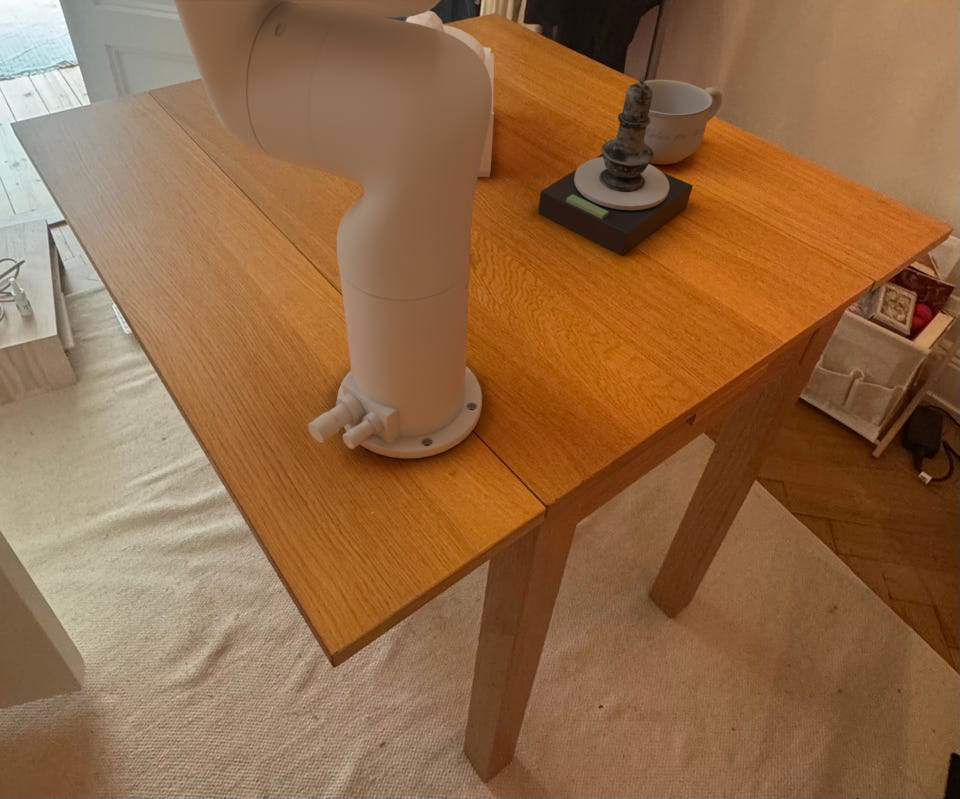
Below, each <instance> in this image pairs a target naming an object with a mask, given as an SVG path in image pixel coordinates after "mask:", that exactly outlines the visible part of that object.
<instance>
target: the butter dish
mask: <svg viewBox="0 0 960 799" xmlns="http://www.w3.org/2000/svg"><path fill="white" fill-rule="evenodd" d="M405 22H410V23H415V24H420V25H423V26H427V27H430V28H434V29H437V30H439V31H442V32H444V33H447V34H449V35H451V36H453V37H455V38H457V39H459V40H461V41H462V42H464V43H465V44H466V45H468V46H469V47H470V48H471V49H473V51H474V52H475V53H476V54H477V55H478V56H479V57H480V59H481V60H482V61H483V63H484V65H485V67H486V69H487V71H488V74H489V77H490V81H491V87H492V107H491V116H490V122H489V127H488V132H487V136H486V141H485V145H484V150H483V154H482V159H481V163H480V168H479V173H478V178H490V176H491V170H492V156H493V154H492V153H493V137H494V120H495V118H494V117H495V111H494V80H495V78H494V77H495V76H494V74H495V67H494V66H495V53H494V52H491V47H487V46H485V47H484V46H483V45H482V44H481V43H480V42H479V40H478V39H477V38H475V37H474V36H473V35H471V34H470V33H468V32H466V31H464V30H462V29H459V28H457V27H454V26H450V25H447V24H444V23H443V20H442V19H441V18H440V17H439V16H438V15H437V13H436V12H434V11H432V10H428V11H427V12H425V13H422V14H418V15H415V16H409V17H406V19H405Z"/></svg>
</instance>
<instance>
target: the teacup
mask: <svg viewBox="0 0 960 799" xmlns="http://www.w3.org/2000/svg"><path fill="white" fill-rule="evenodd" d="M644 84H646V85H647V86H649V87H650V88H651V90H652V92H653V95H652V100H651V105H650V110H649V114H648V117H649V118H650V120H651V122H650V124H649V125H647V127H646V131H645V136H644V144H646V145H647V146H649V147H650V148H651V149H652V151H653V153H654V156H653V159H652V160H651V161H650V162H649V164H651V165H671V164H677V163H679V162H681V161H683V160H684V159H686V158H688V157H689V156H692V155H693V154H694V153H695V152H697V150H698V148H700V145H701V143H702V140H703V138H704V135H705V131H706V127H707V124H708V122H709V121H711V120H712V119H713V118H714V117H715V115H716V114H717V113H718V112H719V110H720V108H721V106H722V103H723V94H722V92H721V91H720V89H718V88H716V87H714V86H709V87H706V88H704V89H703V88H702V87H699V86H698V85H695V84H691V83H688V82H685V81H681V80H672V79H649V80H646V81H645V82H644ZM626 92H627V90H626V91H625V93H626Z"/></svg>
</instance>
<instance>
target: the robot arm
mask: <svg viewBox="0 0 960 799" xmlns="http://www.w3.org/2000/svg"><path fill="white" fill-rule="evenodd" d="M441 1H442V0H173V3H174V6H175V9H176V12H177V14H178V18H179V19H180V20H179V21H180V22H181V25H182V28H183V31H184V33H185V37H186V40H187V42H188V45H189V49H190V51H191V54H192V56H193V60H194V62H195V65H196V67H197V71H198V73H199V76H200V78H201V81H202V85H203V87H204V90H205V92H206V95H207V98H208V100H209V102H210V105H211V107H212V109H213V112H214V113H215V115H216V117H217V118H218V121H219V122H220V124H221V126H222V127H223V129H224V130H225V131H226V133H227V134H228V135H229V136H230V137H231V138H232V140H234V141H235V142H237V143H238V144H239V145H240V146H242V147H243V148H245V149H247V150H249V151H251V152H253V153H256V154H259V155H261V156H264V157H267V158H271V159H274V160H278V161H280V162H284V163H288V164H292V165H297V166H301V167H304V168H308V169H312V170H316V171H321V172H325V173H328V174H330V175H333V176H336V177H340V178H343V179H345V180H346V179H347V180H350V181H352V182H353V183H356V184H357V185H359V186H360V187H361V189H362V193H361V194H360V195H359V196H358V197H357V198H356V199H355V201H354V202H353V203H352V204H350V206H349V207H348V208H347V210H346V211H345V212H344V213H343V216H342V217H341V220H340V221H339V225H338V229H337V232H336V233H337V234H336V241H335V242H336V257H337V264H338V270H339V272H338V273H339V280H340V288H341V295H342V304H343V311H344V312H343V313H344V320H345V321H344V322H345V329H346V338H347V345H348V353H349V362H350V370H349V371H348V372H347V374H346V375H345V377H344V378H343V379H342V381H341V383H340V386H339V387H338V391H337V397H336V401H335V406H334V407H333V408H331V409H329V410H328V411H325V412H323V413H322V414H320V415H318V417H316V418H315V419H313V420H312V421H310V422H309V423H307V430H308V431H309V433H310V435H311V437H312V438H313V439H314V440H315V441H316V442H317V443H319V444H323V443H325V442H327V441H328V440H329V439H331V438H332V437H334V436H335V435H337V434H338V433H339V432H340V431H341V429H342V428H343V429H344V430H345V433H343V434H342V437H341V438H342V441H343V443H344V445H346V447H348V448H349V449H351V450H354V449H355V448H356V447H358V446H359V445H360V446H361V447H363V448H365V449H367V450H369V451H370V452H373V453H375V454H377V455H382V456H385V457H389V458H397V459H421V458H426V457H432V456H435V455H438V454H441V453H443V452H446V451H449V450H451V449H452V448H454V447H455V446H457V445H459V444H460V443H461V442H462V441H464V440H465V439H466V438H467V437H469V435H470V434H471V433H472V432H473V430H474V429H475V428H476V426H477V424H478V422H479V420H480V417H481V413H482V409H483V393H482V389H481V388H482V387H481V384H480V382H479V380H478V378H477V376H476V375H475V374H474V372H473V371H472V370H471V368H469V366H467V346H468V345H467V343H468V319H469V317H468V316H469V295H470V294H469V293H470V291H469V290H470V266H471V264H470V263H471V262H470V261H471V242H472V241H471V239H472V225H473V224H472V222H473V212H474V203H475V196H476V195H475V194H476V189H477V183H478V178H479V177H478V173H479V168H480V163H481V159H482V154H483V150H484V145H485V141H486V136H487V132H488V127H489V122H490V116H491V107H492V87H491V81H490V77H489V74H488V71H487V69H486V67H485V65H484V63H483V61H482V60H481V59H480V57H479V56H478V55H477V54H476V53H475V52H474V51H473V49H471V48H470V47H469V46H468V45H466V44H465V43H464V42H462V41H461V40H459V39H457V38H455V37H453V36H451V35H449V34H447V33H444V32H442V31H439V30H437V29H434V28H430V27H427V26H423V25H420V24H415V23H410V22H406V20H399V19H397V18H408V17H409V16H415V15H418V14H422V13H425V12H427V11H428V10H429V11H431V10H432V9H433V8H435V7H436V6H437V5H438V4H439V3H440V2H441Z"/></svg>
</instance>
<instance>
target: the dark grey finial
mask: <svg viewBox="0 0 960 799" xmlns="http://www.w3.org/2000/svg"><path fill="white" fill-rule="evenodd" d="M638 81H639V82H637V83H633V84H631V85H629V87H627V88H626V91H627V92H626V91H625V98H624V101H623V102H624V103H623V108H622V112H619V114H618V116H617V120H618V122H619V126H618V130H617V134H616V136H615V138H614V139H610V140H607V141H606V142H604V143H603V145H602V146H601V154H603V159H604V164H605V166H606V168H607V169H605V170H604V171H602V172H601V173H600V176H599V179H600V182H601V183H602V184H603V185H604V186H606V187H607V188H609V189H612V190H615V191H620V192H633V191H637V190H639V189H641V188H642V187H643V186H644V184H645V180H644V178H643V176H642V175H641V173H642V172H644V170H645V169H646V167H647V166H648V165H649V164H650V163H649V162H650V161H651V160H652V159H653V156H654V153H653V151H652V149H651V148H650V147H649V146H647V145H646V144H644V136H645V131H646V127H647V125H649V124H650V122H651V120H650V118H649V117H648V114H649V110H650V105H651V100H652V95H653V92H652V90H651V88H650V87H649V86H647V85H646V84H644V82H645V81H647V80H646V79H645V76H644V75H642V76H641V77H640V78H639V79H638Z"/></svg>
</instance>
